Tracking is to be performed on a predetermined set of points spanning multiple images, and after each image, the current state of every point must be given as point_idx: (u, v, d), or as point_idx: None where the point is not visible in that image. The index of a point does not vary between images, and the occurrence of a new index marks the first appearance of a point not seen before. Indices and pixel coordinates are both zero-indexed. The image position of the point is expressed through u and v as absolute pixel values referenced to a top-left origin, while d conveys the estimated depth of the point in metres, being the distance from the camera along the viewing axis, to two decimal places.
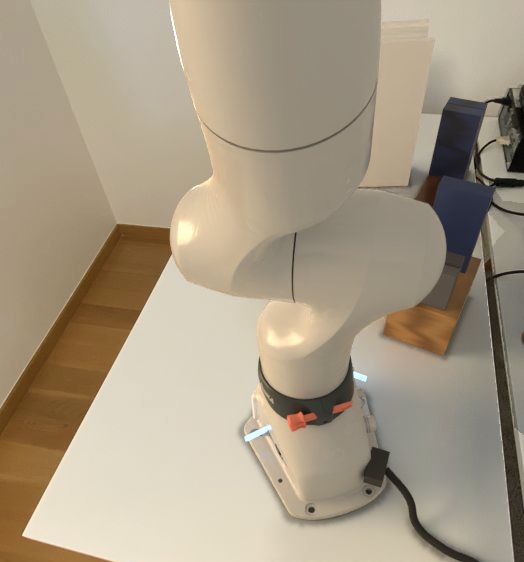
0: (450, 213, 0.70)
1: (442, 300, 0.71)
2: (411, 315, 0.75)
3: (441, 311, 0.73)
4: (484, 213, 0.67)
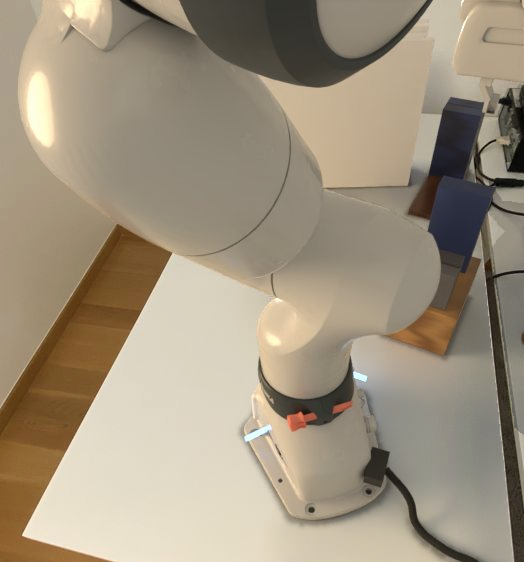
0: (450, 213, 0.70)
1: (442, 300, 0.71)
2: None
3: (441, 311, 0.73)
4: (484, 213, 0.67)
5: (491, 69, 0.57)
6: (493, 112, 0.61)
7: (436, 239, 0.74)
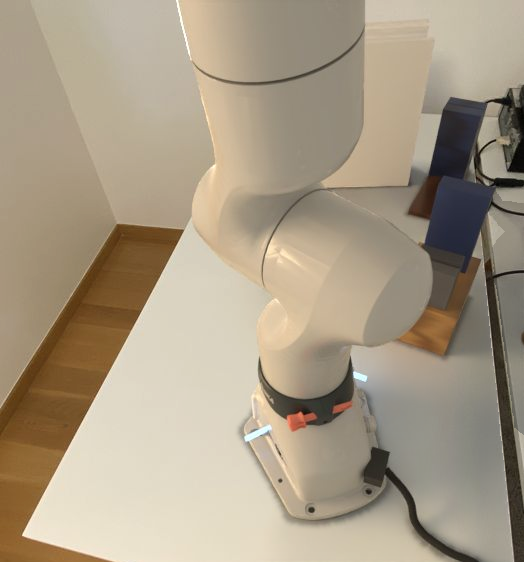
0: (450, 213, 0.70)
1: (442, 300, 0.71)
2: None
3: (441, 311, 0.73)
4: (484, 213, 0.67)
5: None
6: None
7: (436, 239, 0.74)
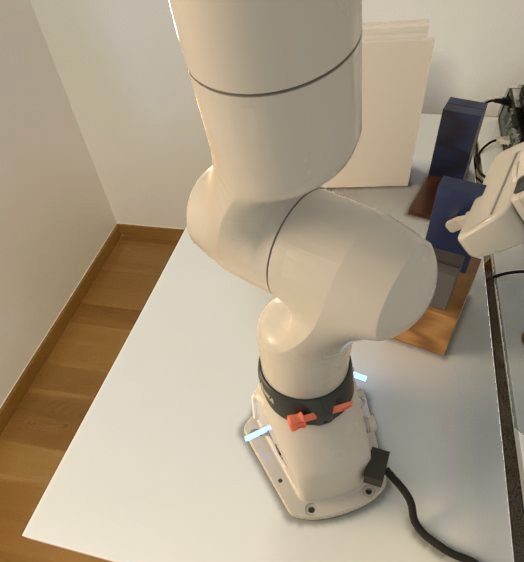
0: (450, 213, 0.70)
1: (442, 300, 0.71)
2: None
3: (441, 311, 0.73)
4: None
5: (494, 168, 0.69)
6: None
7: (436, 239, 0.74)
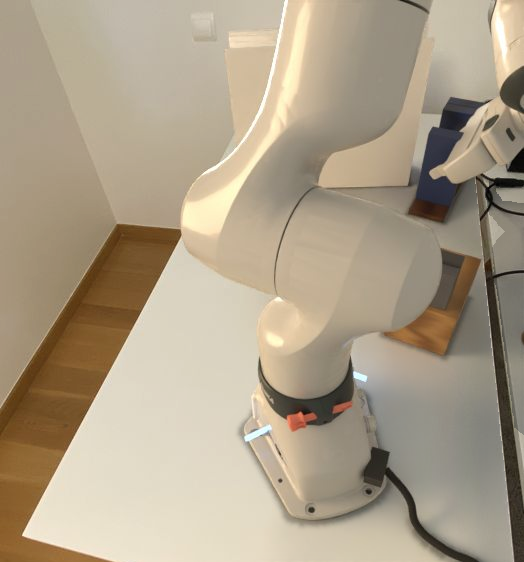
0: (438, 156, 0.91)
1: (442, 300, 0.71)
2: None
3: (441, 311, 0.73)
4: None
5: (471, 120, 0.90)
6: None
7: (427, 179, 0.96)
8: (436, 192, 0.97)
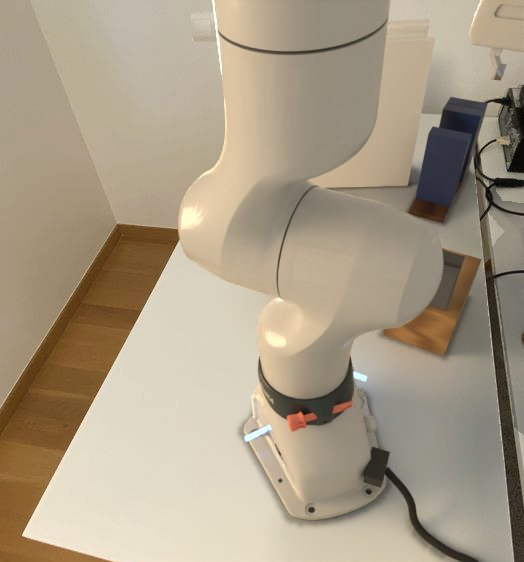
0: (438, 156, 0.91)
1: (442, 300, 0.71)
2: None
3: (441, 311, 0.73)
4: (463, 154, 0.89)
5: (500, 40, 0.70)
6: (500, 79, 0.75)
7: (427, 179, 0.96)
8: (436, 192, 0.97)
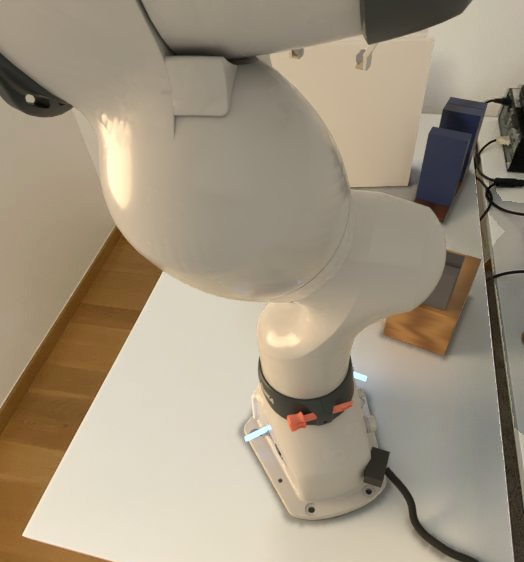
0: (438, 156, 0.91)
1: (442, 300, 0.71)
2: (411, 315, 0.75)
3: (441, 311, 0.73)
4: (463, 154, 0.89)
5: None
6: (297, 57, 0.66)
7: (427, 179, 0.96)
8: (436, 192, 0.97)
